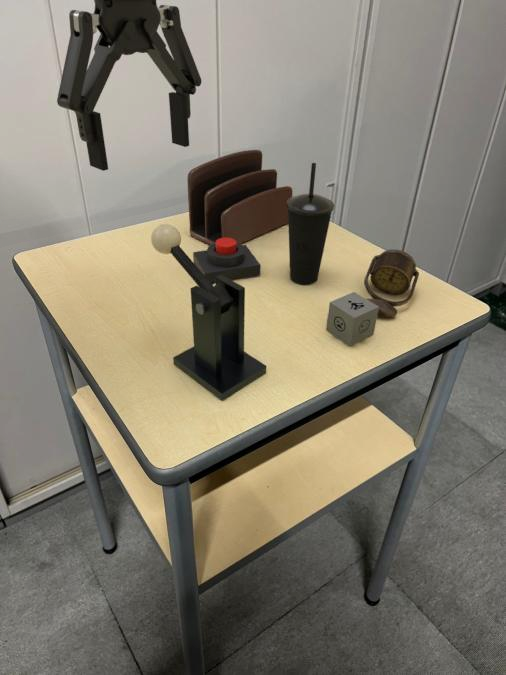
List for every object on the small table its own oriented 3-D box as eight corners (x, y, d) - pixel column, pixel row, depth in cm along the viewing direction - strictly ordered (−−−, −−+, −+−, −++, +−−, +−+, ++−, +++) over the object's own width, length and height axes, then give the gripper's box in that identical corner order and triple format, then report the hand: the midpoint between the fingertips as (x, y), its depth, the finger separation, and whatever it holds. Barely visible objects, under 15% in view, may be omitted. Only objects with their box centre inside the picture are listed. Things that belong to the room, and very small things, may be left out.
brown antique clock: (443, 267, 83) (393, 235, 88) (405, 290, 75) (351, 253, 79) (423, 301, 88) (376, 269, 92) (384, 326, 80) (335, 290, 84)
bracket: (173, 364, 71) (166, 283, 63) (217, 340, 76) (215, 262, 68) (222, 401, 65) (220, 317, 58) (266, 372, 70) (270, 292, 62)
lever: (143, 243, 68) (147, 222, 65) (166, 235, 70) (172, 214, 67) (209, 323, 64) (217, 305, 61) (231, 311, 66) (240, 293, 63)
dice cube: (349, 346, 75) (354, 318, 72) (326, 329, 78) (329, 302, 75) (373, 334, 77) (379, 306, 74) (349, 319, 81) (353, 291, 78)
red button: (219, 257, 88) (219, 247, 87) (213, 247, 91) (213, 238, 90) (239, 254, 89) (239, 245, 88) (232, 245, 92) (232, 236, 91)
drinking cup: (283, 265, 94) (290, 154, 82) (326, 269, 93) (339, 157, 81) (279, 287, 88) (286, 170, 76) (324, 291, 87) (339, 173, 75)
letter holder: (189, 236, 103) (185, 165, 94) (257, 209, 114) (259, 143, 106) (223, 253, 97) (222, 179, 89) (292, 222, 109) (296, 155, 101)
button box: (205, 284, 88) (204, 263, 86) (193, 263, 94) (192, 242, 92) (260, 275, 91) (260, 255, 88) (245, 255, 97) (245, 235, 94)
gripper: (33, -47, 46) (77, 187, 59) (226, -43, 61) (228, 141, 74) (-8, -48, 50) (41, 171, 62) (183, -45, 65) (191, 131, 78)
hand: (142, 155), depth 68 cm, fingers open, 13 cm apart
